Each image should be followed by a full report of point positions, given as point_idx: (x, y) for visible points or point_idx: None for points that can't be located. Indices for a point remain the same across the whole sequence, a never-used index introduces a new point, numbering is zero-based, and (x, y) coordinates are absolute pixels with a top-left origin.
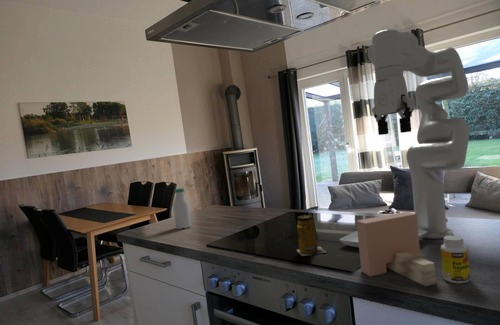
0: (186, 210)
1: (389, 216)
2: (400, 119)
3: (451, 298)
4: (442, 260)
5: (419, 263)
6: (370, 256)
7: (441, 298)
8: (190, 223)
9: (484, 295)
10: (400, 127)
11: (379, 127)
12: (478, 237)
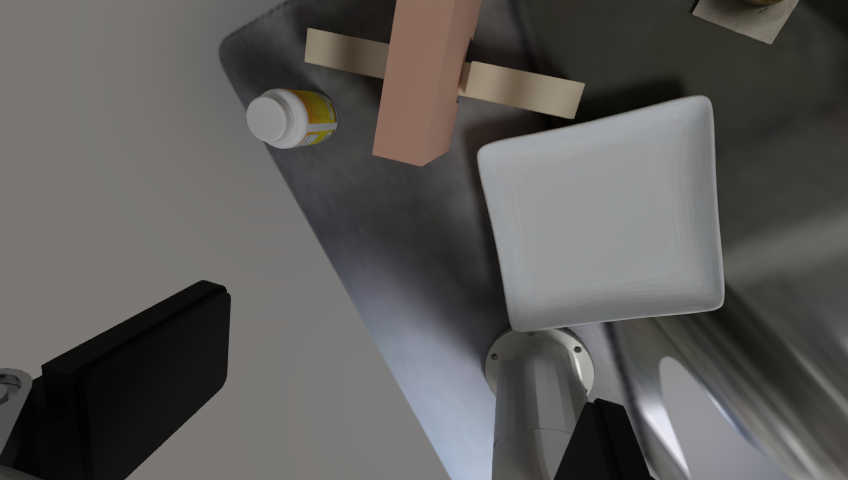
0: None
1: (417, 66)
2: (64, 355)
3: (269, 27)
4: (308, 95)
5: (321, 31)
6: None
7: (278, 11)
8: None
9: (249, 87)
10: (178, 304)
11: (614, 477)
12: (436, 391)
